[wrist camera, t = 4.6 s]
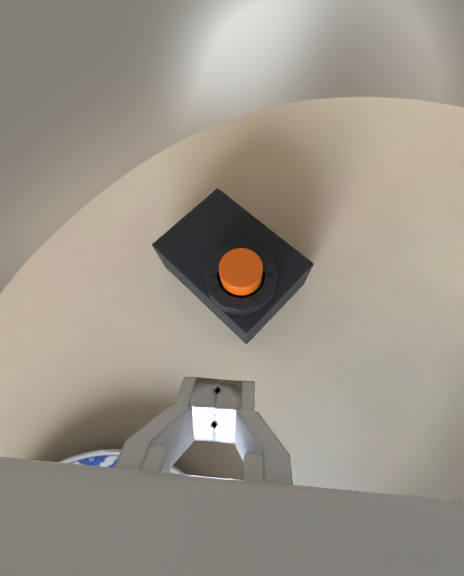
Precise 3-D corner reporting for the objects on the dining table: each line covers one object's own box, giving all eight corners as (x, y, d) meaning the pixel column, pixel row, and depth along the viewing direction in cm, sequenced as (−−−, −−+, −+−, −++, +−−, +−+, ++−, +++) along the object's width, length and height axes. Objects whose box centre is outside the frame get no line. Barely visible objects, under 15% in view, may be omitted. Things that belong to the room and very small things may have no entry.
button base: (165, 266, 38) (146, 236, 31) (221, 216, 40) (216, 177, 33) (246, 344, 34) (246, 329, 27) (304, 283, 36) (317, 255, 29)
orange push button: (211, 277, 29) (209, 268, 27) (240, 250, 30) (240, 239, 28) (241, 304, 28) (241, 297, 26) (270, 275, 29) (272, 266, 27)
